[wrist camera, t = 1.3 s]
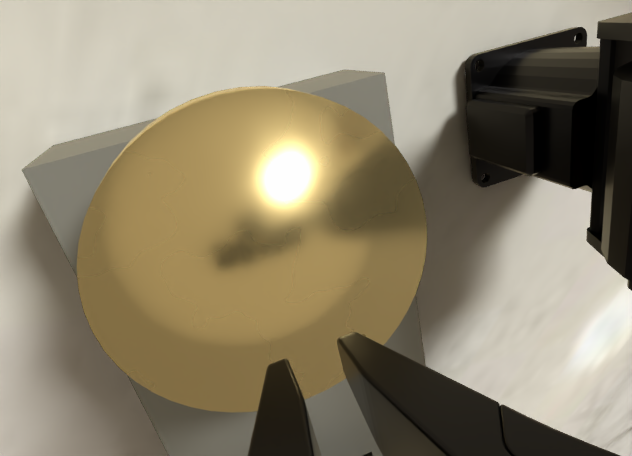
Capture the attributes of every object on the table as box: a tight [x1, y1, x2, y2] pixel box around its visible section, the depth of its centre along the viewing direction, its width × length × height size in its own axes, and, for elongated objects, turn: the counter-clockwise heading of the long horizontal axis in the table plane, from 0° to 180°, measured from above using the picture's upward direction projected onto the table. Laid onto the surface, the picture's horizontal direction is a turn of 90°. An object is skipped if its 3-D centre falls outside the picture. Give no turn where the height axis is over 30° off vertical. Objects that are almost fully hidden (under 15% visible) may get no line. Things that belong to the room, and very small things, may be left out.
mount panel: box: [22, 70, 425, 456], centre depth 21 cm, size 12×24×4 cm, turn 14°
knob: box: [77, 86, 427, 413], centre depth 15 cm, size 10×10×5 cm
